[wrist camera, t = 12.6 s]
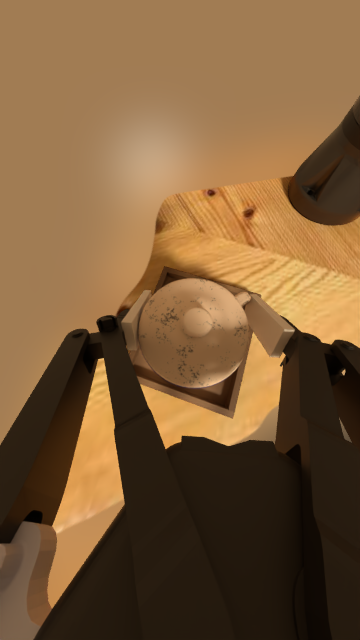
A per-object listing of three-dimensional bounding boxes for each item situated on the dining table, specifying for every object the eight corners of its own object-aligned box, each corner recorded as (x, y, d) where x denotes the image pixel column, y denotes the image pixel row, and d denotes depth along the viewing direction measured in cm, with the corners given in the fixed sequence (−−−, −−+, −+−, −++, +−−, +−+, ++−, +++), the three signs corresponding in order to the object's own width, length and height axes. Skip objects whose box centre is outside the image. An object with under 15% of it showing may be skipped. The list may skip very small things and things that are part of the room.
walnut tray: (253, 300, 24) (261, 294, 22) (226, 410, 21) (232, 418, 18) (166, 274, 26) (164, 266, 23) (127, 373, 22) (120, 376, 20)
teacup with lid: (179, 387, 19) (174, 441, 7) (144, 329, 20) (97, 300, 9) (250, 336, 20) (341, 315, 9) (212, 287, 22) (245, 215, 10)
